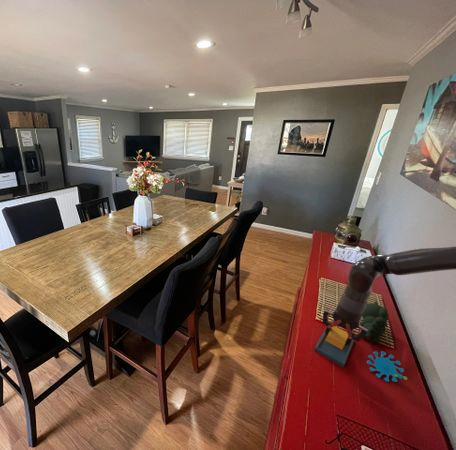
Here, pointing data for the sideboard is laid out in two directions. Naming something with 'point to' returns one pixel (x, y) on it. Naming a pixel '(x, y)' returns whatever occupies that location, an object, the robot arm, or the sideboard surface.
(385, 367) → the blue virus toy
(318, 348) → the backing tray
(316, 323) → the sideboard surface
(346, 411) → the sideboard surface
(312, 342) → the sideboard surface
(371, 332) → the green broccoli
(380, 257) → the robot arm
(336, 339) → the pad
